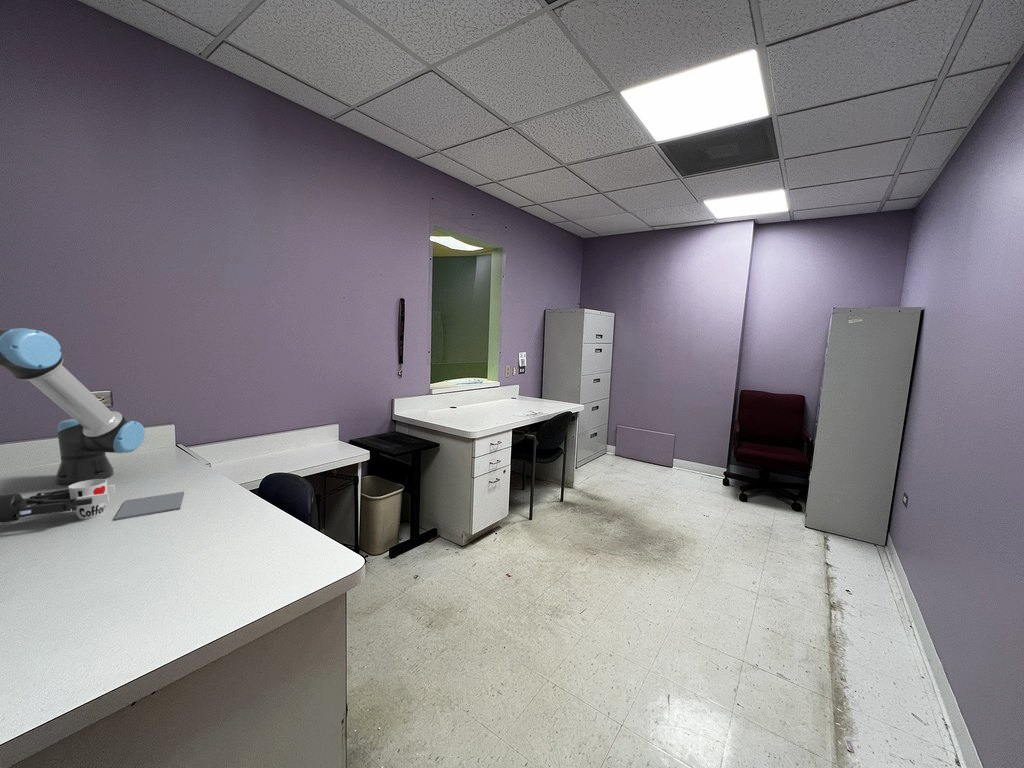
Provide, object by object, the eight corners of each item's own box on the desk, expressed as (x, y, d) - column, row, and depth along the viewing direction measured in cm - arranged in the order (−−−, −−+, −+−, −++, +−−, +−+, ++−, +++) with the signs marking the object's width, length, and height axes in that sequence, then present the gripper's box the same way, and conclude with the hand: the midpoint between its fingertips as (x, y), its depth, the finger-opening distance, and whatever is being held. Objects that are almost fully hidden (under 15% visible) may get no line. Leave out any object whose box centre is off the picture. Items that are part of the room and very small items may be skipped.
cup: (73, 524, 118) (70, 490, 117) (69, 516, 123) (66, 484, 122) (112, 514, 125) (109, 483, 124) (107, 507, 130) (104, 477, 129)
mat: (125, 502, 134) (125, 500, 134) (184, 493, 143) (184, 491, 143) (114, 520, 121) (114, 518, 121) (180, 509, 130) (179, 507, 130)
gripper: (14, 509, 122) (119, 494, 135) (-19, 537, 105) (104, 517, 118) (11, 484, 121) (117, 472, 134) (-23, 509, 104) (102, 492, 117)
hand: (111, 493), depth 126 cm, fingers closed on cup, 8 cm apart
